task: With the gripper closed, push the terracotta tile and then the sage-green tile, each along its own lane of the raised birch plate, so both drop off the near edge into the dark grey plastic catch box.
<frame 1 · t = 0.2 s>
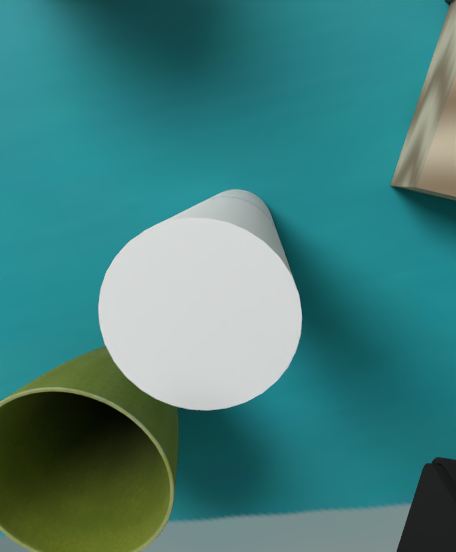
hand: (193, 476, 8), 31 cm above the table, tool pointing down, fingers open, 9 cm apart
cylindrical container: (236, 226, 38), on the table
flower pot: (137, 370, 43), on the table
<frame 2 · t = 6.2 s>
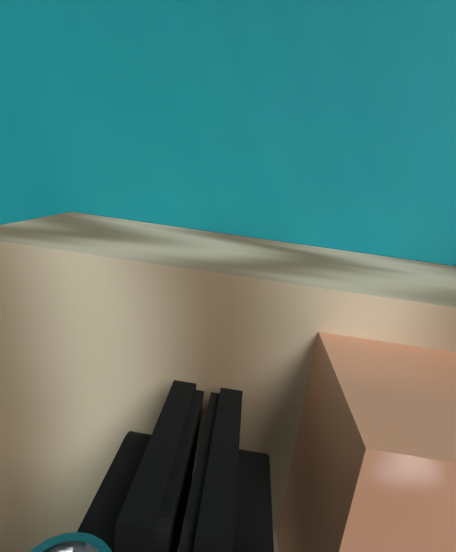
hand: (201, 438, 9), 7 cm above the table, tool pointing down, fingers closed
birch plate: (236, 421, 17), on the table
terracotta tile: (415, 460, 10), point 6 cm above the table, touching birch plate, gripper
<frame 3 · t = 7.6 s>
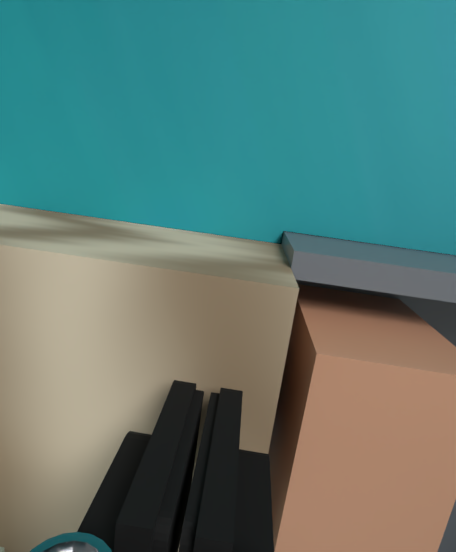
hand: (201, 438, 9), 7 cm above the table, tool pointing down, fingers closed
catch box: (390, 449, 16), on the table
birch plate: (79, 399, 17), on the table
terracotta tile: (283, 397, 12), point 3 cm above the table, tilted 90°, touching catch box
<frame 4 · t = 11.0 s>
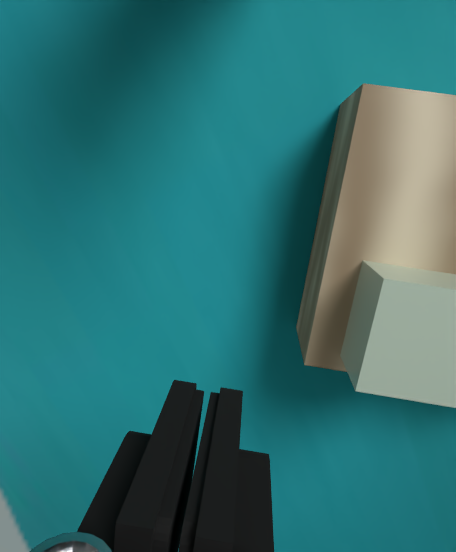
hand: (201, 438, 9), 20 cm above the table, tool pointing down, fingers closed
birch plate: (423, 240, 27), on the table
sage tile: (402, 317, 23), point 6 cm above the table, touching birch plate
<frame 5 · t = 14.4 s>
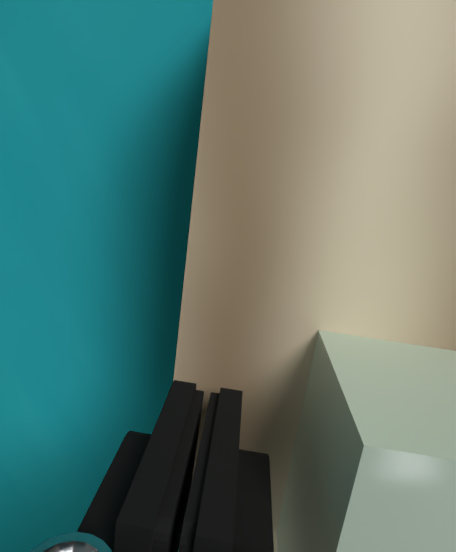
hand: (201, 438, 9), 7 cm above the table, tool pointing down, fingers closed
birch plate: (412, 258, 14), on the table
sage tile: (415, 458, 10), point 6 cm above the table, touching gripper
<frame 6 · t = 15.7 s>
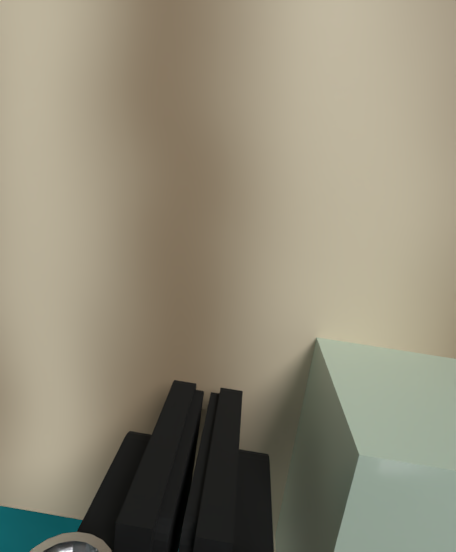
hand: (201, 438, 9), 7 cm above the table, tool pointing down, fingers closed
birch plate: (213, 228, 15), on the table
sage tile: (411, 463, 10), point 6 cm above the table, touching birch plate, gripper
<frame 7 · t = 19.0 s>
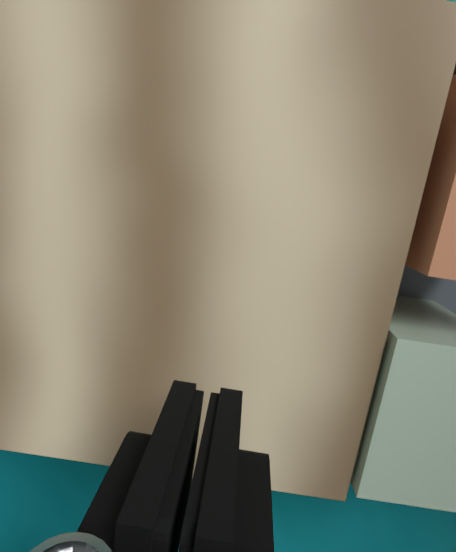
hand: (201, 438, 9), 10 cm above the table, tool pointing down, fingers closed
birch plate: (189, 233, 18), on the table
terracotta tile: (411, 175, 14), point 3 cm above the table, tilted 90°, touching catch box
sage tile: (351, 378, 16), point 3 cm above the table, tilted 90°, touching catch box
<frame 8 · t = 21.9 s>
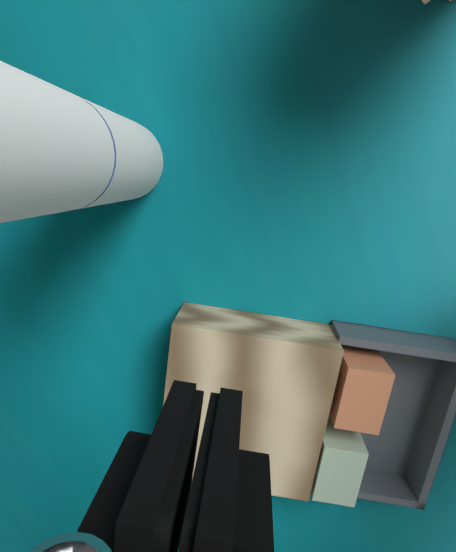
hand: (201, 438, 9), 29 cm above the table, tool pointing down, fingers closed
catch box: (372, 403, 41), on the table
cylindrical container: (126, 161, 36), on the table
birch plate: (245, 383, 41), on the table
terracotta tile: (334, 381, 37), point 3 cm above the table, tilted 90°, touching catch box
sage tile: (313, 451, 39), point 3 cm above the table, tilted 90°, touching catch box
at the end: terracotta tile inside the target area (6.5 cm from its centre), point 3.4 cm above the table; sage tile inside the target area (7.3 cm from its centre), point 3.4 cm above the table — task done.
